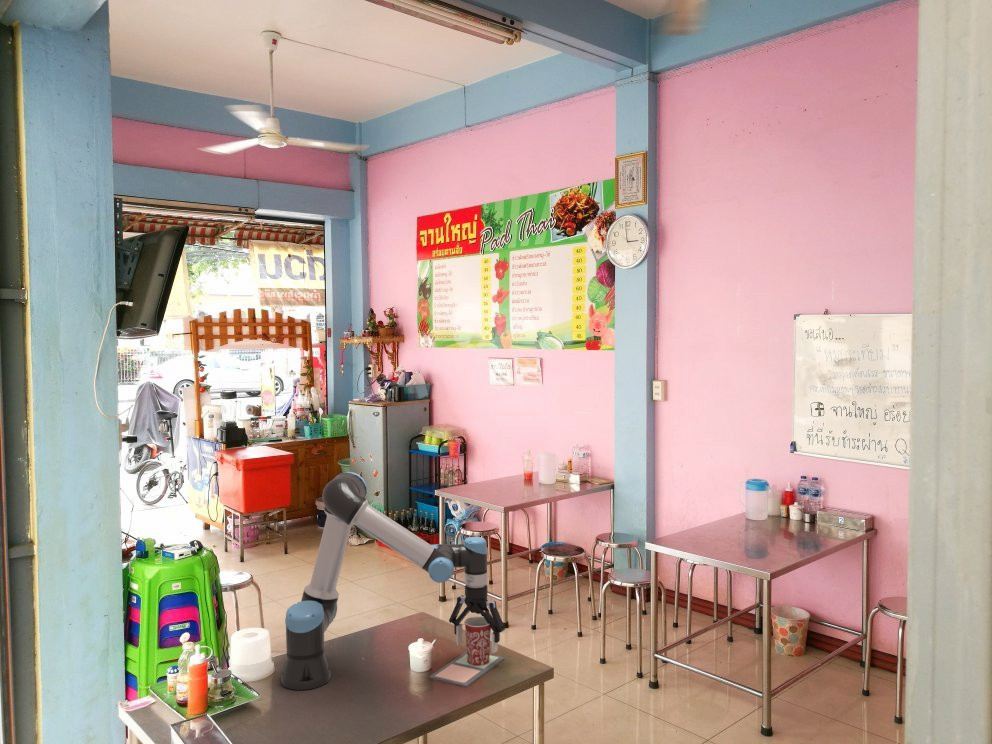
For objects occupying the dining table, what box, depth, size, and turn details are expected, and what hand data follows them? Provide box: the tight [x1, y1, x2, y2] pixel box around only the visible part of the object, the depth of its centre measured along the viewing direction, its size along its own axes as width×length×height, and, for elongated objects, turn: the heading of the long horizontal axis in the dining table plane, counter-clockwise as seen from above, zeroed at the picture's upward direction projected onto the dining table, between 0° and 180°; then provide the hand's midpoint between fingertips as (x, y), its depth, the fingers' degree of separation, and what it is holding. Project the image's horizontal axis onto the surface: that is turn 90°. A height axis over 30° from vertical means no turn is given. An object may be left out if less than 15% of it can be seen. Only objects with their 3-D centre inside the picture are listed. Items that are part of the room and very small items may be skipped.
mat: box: [428, 650, 505, 689], centre depth 250 cm, size 14×24×1 cm, turn 151°
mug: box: [464, 616, 492, 666], centre depth 256 cm, size 13×9×14 cm
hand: (476, 647), depth 255 cm, fingers open, 13 cm apart
